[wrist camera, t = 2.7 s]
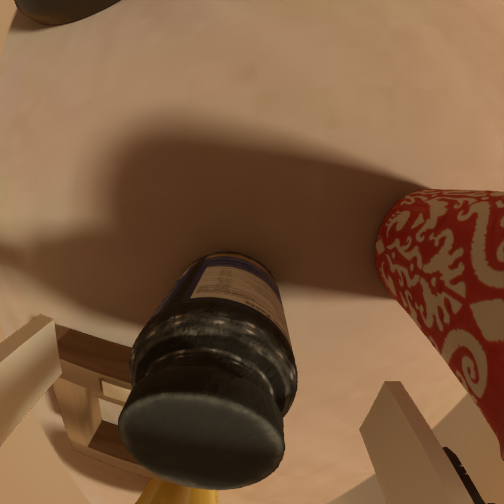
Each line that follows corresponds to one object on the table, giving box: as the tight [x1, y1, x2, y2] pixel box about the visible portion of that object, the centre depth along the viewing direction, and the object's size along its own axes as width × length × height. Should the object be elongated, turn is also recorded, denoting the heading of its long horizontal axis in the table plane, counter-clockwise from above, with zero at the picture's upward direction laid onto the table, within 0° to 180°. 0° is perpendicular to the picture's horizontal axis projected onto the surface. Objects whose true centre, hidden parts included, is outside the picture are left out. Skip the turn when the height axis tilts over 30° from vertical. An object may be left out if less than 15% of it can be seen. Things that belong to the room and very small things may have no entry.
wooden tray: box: [53, 329, 187, 487], centre depth 18 cm, size 11×11×4 cm
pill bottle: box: [118, 252, 298, 490], centre depth 12 cm, size 6×6×11 cm
